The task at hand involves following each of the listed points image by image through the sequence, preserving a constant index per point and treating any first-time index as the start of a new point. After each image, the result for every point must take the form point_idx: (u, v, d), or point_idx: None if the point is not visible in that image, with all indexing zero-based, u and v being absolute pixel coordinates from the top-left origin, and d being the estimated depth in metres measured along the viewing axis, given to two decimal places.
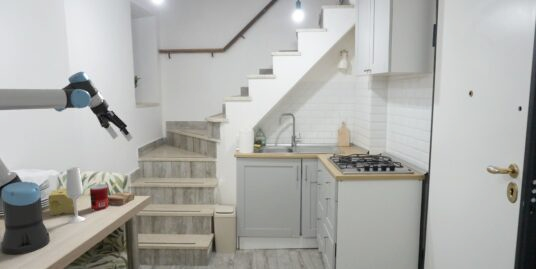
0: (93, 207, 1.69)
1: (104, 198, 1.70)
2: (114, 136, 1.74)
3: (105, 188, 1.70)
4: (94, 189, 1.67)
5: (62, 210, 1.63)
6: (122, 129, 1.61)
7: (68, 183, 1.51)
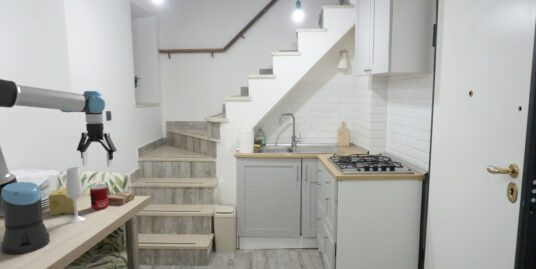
0: (93, 207, 1.69)
1: (104, 198, 1.70)
2: (85, 163, 1.70)
3: (105, 188, 1.70)
4: (94, 189, 1.67)
5: (62, 210, 1.63)
6: (110, 152, 1.66)
7: (68, 183, 1.51)
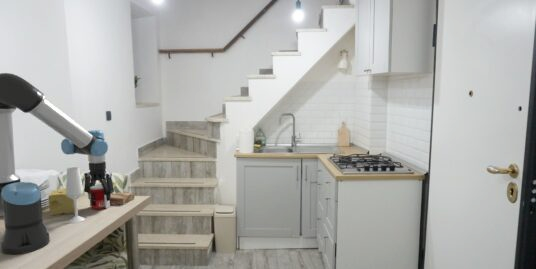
0: (93, 207, 1.69)
1: None
2: None
3: None
4: (94, 189, 1.67)
5: (62, 210, 1.63)
6: (107, 194, 1.70)
7: (68, 183, 1.51)
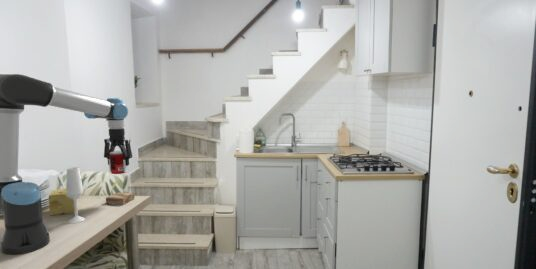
0: (113, 171, 1.77)
1: None
2: None
3: None
4: (114, 154, 1.75)
5: (62, 210, 1.63)
6: (126, 159, 1.78)
7: (68, 183, 1.51)
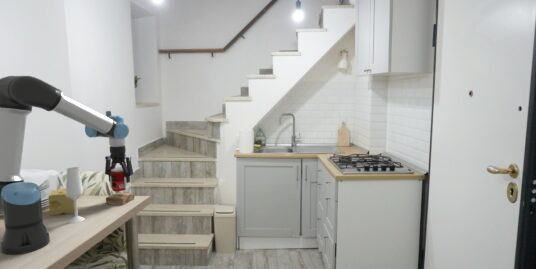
0: (114, 188, 1.78)
1: None
2: None
3: None
4: (115, 171, 1.76)
5: (62, 210, 1.63)
6: (127, 176, 1.79)
7: (68, 183, 1.51)
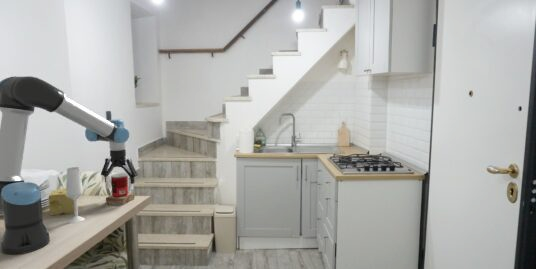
0: (114, 194, 1.78)
1: (124, 186, 1.79)
2: (108, 186, 1.82)
3: (125, 176, 1.80)
4: (115, 177, 1.77)
5: (62, 210, 1.63)
6: (132, 177, 1.78)
7: (68, 183, 1.51)
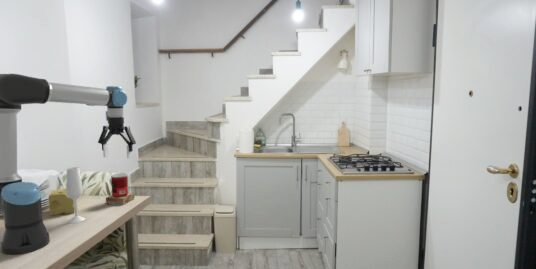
0: (114, 194, 1.78)
1: (124, 186, 1.79)
2: (105, 155, 1.79)
3: (125, 176, 1.80)
4: (115, 177, 1.77)
5: (62, 210, 1.63)
6: (130, 144, 1.75)
7: (68, 183, 1.51)
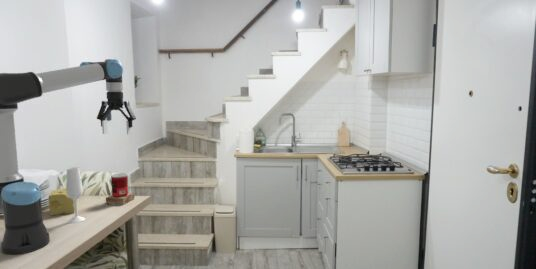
0: (114, 194, 1.78)
1: (124, 186, 1.79)
2: (105, 131, 1.74)
3: (125, 177, 1.80)
4: (115, 177, 1.77)
5: (62, 210, 1.63)
6: (130, 120, 1.70)
7: (68, 183, 1.51)
